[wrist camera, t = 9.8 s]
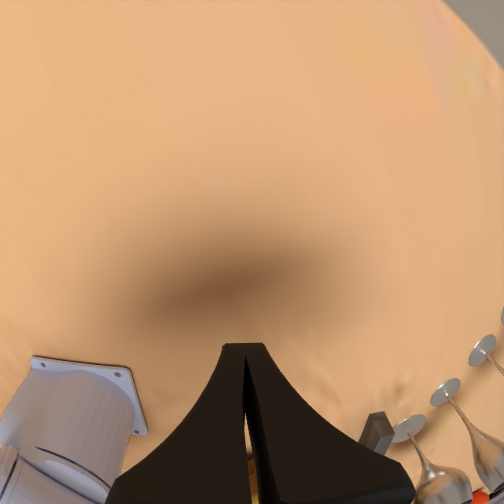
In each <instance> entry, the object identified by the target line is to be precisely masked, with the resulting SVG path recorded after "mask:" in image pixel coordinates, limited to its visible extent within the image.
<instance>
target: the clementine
mask: <svg viewBox="0 0 504 504" xmlns="http://www.w3.org/2000/svg"><path fill="white" fill-rule="evenodd" d="M472 495H473V501H472V502H471V503H470V504H485V503H487V502H489V501H490V500H489V496H488V494H487V493H485V492H481V491H480V492H475V493H473V494H472Z"/></svg>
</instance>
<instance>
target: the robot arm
mask: <svg viewBox="0 0 504 504" xmlns="http://www.w3.org/2000/svg"><path fill="white" fill-rule="evenodd" d="M30 364H31V366H32V369H31V371H30V372H29V374H28V375H27V377H26V378H25V380H24V381H23V382H22V384H21V385H20V387H19V388H18V390H17V391H16V393H15V394H14V396H13V398H12V399H11V401H10V402H9V404H8V405H7V407H6V408H5V410H4V412H3V415H2V418H1V423H0V440H1V444H2V447H1V448H0V504H252V497H251V489H250V481H249V472H248V463H247V454H246V444H245V433H244V425H245V413H246V419H247V425H248V430H249V435H250V441H251V446H252V451H253V457H254V462H255V469H256V478H257V490H258V502H259V504H411V503H412V501H413V500H414V498H415V496H416V490H415V488H414V485H413V483H412V481H411V479H410V477H409V476H408V474H407V472H406V471H405V470H404V468H403V467H402V465H401V463H399V462H397V461H395V460H392V459H390V458H388V457H386V456H383V455H381V454H379V453H377V452H374V451H372V450H370V449H368V448H367V447H365V446H363V445H361V444H360V443H358V442H356V441H354V440H353V439H351V438H350V437H348V436H347V435H346V434H344V433H343V432H341V431H340V430H338V429H337V428H335V427H334V426H333V425H331V424H330V423H329V422H328V421H326V420H325V419H324V418H323V417H322V416H320V415H319V414H318V413H317V412H316V411H315V410H314V409H313V408H312V407H311V406H310V405H309V404H308V403H307V402H306V401H305V400H304V399H303V398H302V397H301V396H300V395H299V394H298V393H297V391H296V390H295V389H294V388H293V387H292V386H291V384H290V383H289V382H288V381H287V379H286V378H285V377H284V375H283V374H282V373H281V371H280V370H279V368H278V367H277V365H276V364H275V362H274V361H273V359H272V358H271V356H270V354H269V353H268V351H267V349H266V347H265V345H264V344H263V343H226V344H225V345H223V346H222V351H221V355H220V358H219V360H218V363H217V365H216V368H215V370H214V372H213V374H212V376H211V378H210V380H209V382H208V384H207V386H206V387H205V389H204V390H203V392H202V394H201V395H200V397H199V399H198V400H197V402H196V403H195V405H194V406H193V408H192V409H191V410H190V412H189V413H188V414H187V416H186V417H185V418H184V419H183V421H182V422H181V423H180V424H179V425H178V426H177V428H176V429H175V430H174V431H173V432H172V433H171V434H170V435H169V436H168V437H167V438H166V439H165V440H164V441H163V442H162V443H161V444H160V445H159V446H158V447H157V448H156V449H154V450H153V451H152V452H151V453H150V454H149V455H148V456H147V457H145V458H144V459H143V460H142V461H140V462H139V463H138V464H136V465H135V466H133V467H132V468H131V469H129V470H128V471H126V472H125V473H123V474H122V475H121V476H120V473H121V469H122V465H123V461H124V457H125V453H126V449H127V445H128V441H129V437H130V434H132V435H141V436H145V435H147V434H148V429H147V426H146V423H145V420H144V417H143V413H142V410H141V407H140V403H139V400H138V397H137V393H136V389H135V386H134V382H133V378H132V375H131V372H130V370H129V369H127V368H124V367H112V366H102V365H92V364H84V363H75V362H68V361H60V360H54V359H47V358H41V357H35V356H32V357H31V359H30ZM117 372H118V373H120V374H118V373H117ZM485 504H504V492H503V493H502V494H500V495H498V496H497V497H495V498H494V499H492V500H490V501H489V502H487V503H485Z"/></svg>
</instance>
